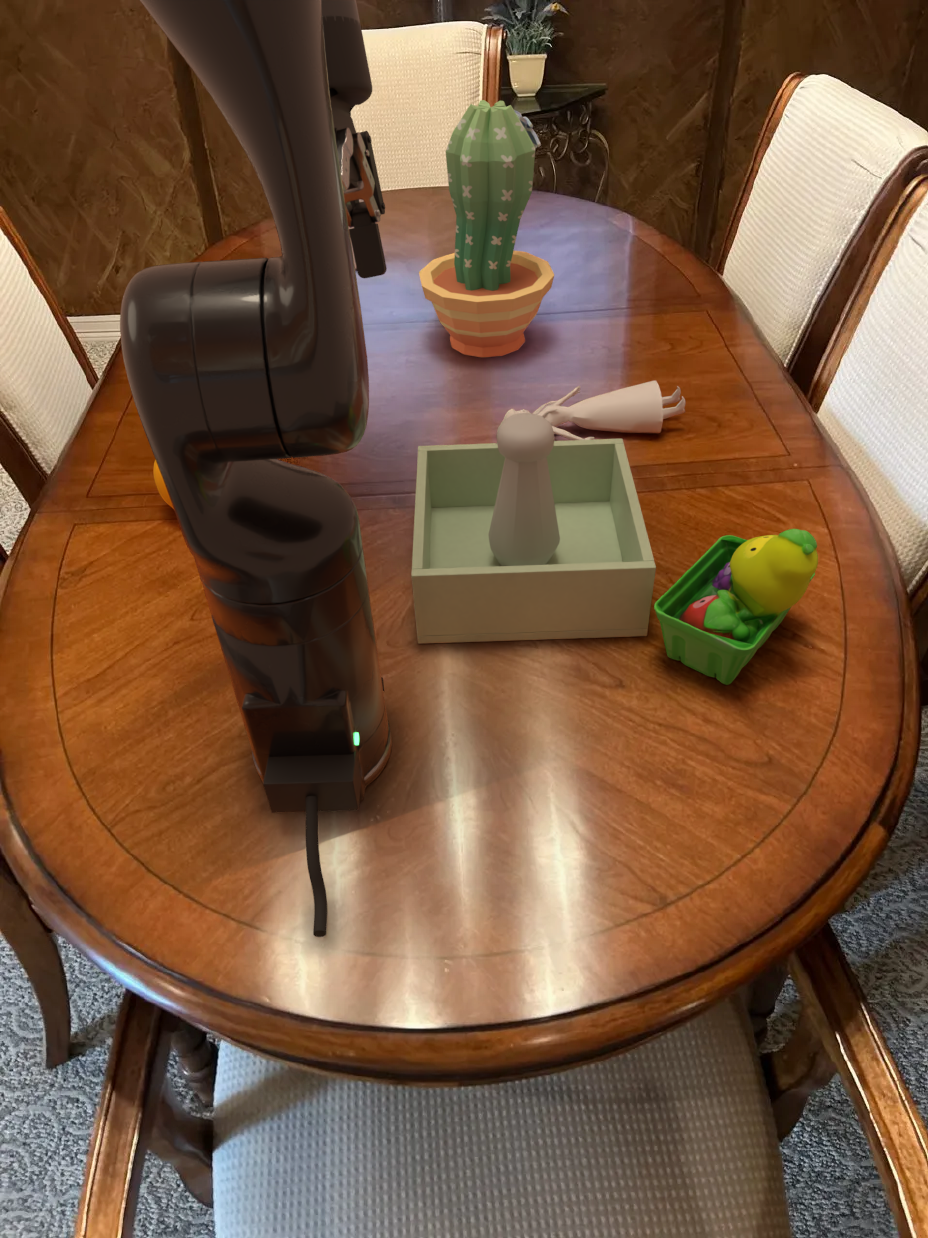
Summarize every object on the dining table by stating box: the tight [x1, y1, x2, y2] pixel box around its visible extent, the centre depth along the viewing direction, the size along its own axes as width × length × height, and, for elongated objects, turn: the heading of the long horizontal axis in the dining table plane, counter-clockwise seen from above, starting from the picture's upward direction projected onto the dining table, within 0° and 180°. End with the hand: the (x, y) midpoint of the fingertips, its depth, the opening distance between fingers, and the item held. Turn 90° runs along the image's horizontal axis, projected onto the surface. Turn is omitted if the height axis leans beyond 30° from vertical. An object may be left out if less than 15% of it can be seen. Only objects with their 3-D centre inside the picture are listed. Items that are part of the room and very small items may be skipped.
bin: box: [410, 438, 657, 644], centre depth 74 cm, size 18×18×7 cm
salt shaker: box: [488, 412, 560, 566], centre depth 72 cm, size 6×6×13 cm
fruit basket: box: [653, 528, 819, 686], centre depth 65 cm, size 11×9×11 cm
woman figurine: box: [503, 379, 686, 440], centre depth 92 cm, size 12×4×18 cm
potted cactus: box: [418, 99, 555, 358], centre depth 100 cm, size 15×15×25 cm
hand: (357, 277), depth 68 cm, fingers open, 8 cm apart
